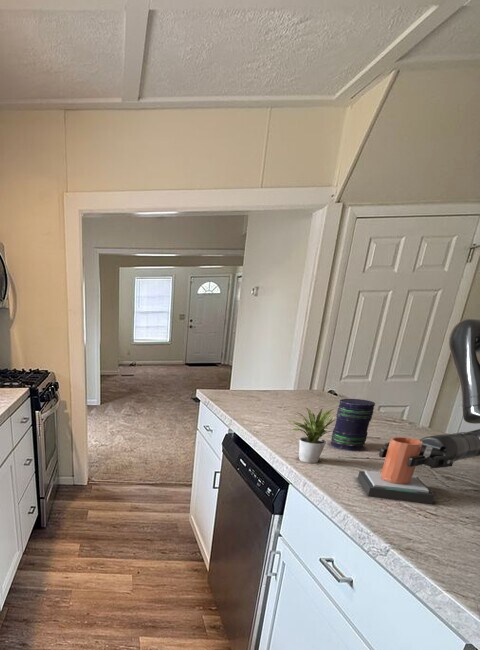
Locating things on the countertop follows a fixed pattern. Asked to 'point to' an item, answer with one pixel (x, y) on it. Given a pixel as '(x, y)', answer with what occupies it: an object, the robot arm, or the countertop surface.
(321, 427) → the house plant
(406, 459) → the cup
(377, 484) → the scale
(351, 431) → the storage jar
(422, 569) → the countertop surface
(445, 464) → the robot arm
